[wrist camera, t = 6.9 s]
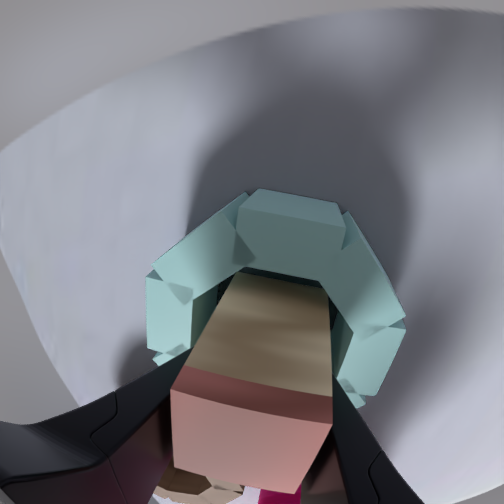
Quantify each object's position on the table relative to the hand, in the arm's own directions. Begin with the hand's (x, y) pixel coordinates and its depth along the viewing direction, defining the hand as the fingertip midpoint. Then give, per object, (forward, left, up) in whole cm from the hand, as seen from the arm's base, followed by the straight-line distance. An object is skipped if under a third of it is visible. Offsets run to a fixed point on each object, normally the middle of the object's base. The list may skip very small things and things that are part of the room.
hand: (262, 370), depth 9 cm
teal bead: (0, 0, -5) cm, 5 cm away
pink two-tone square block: (0, 0, -3) cm, 3 cm away
